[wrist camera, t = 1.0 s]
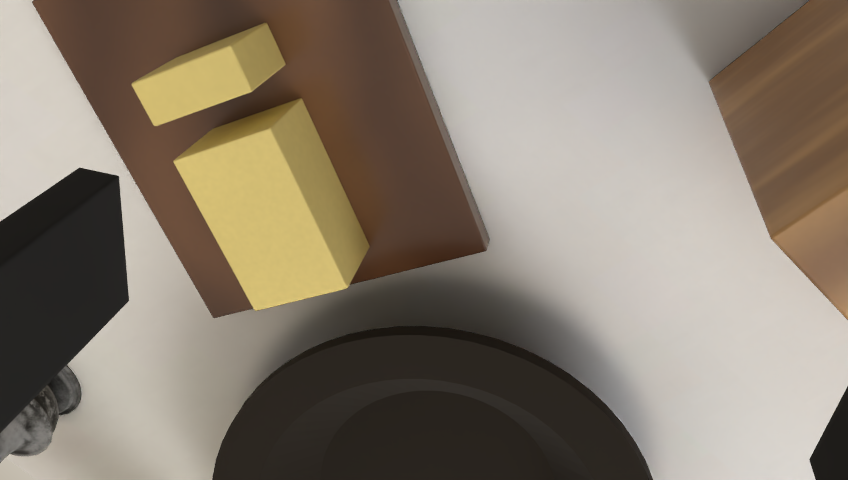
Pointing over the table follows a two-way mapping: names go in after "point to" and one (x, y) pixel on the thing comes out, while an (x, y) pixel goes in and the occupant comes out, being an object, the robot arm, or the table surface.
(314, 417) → the plate
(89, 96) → the board
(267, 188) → the butter block
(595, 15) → the table surface
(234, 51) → the butter slice
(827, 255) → the wood grain block
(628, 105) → the table surface
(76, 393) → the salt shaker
